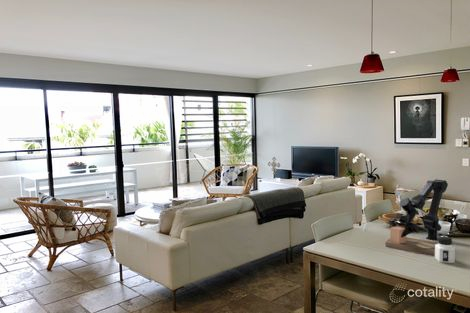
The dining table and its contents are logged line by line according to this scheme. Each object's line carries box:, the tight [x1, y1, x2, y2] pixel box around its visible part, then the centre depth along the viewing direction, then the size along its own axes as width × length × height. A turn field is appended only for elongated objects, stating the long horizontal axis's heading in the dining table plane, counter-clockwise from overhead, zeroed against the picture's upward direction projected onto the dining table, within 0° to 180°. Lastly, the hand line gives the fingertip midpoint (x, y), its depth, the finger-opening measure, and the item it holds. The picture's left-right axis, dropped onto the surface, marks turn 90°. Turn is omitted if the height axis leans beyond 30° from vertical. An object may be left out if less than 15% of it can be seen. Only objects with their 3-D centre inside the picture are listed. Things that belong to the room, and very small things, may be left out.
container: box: [434, 235, 456, 264], centre depth 201 cm, size 8×8×13 cm
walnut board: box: [385, 236, 438, 257], centre depth 224 cm, size 18×28×5 cm, turn 50°
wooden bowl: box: [378, 212, 423, 228], centre depth 270 cm, size 30×24×8 cm
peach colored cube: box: [389, 226, 407, 244], centre depth 226 cm, size 6×6×8 cm
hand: (396, 235), depth 225 cm, fingers closed on peach colored cube, 6 cm apart
